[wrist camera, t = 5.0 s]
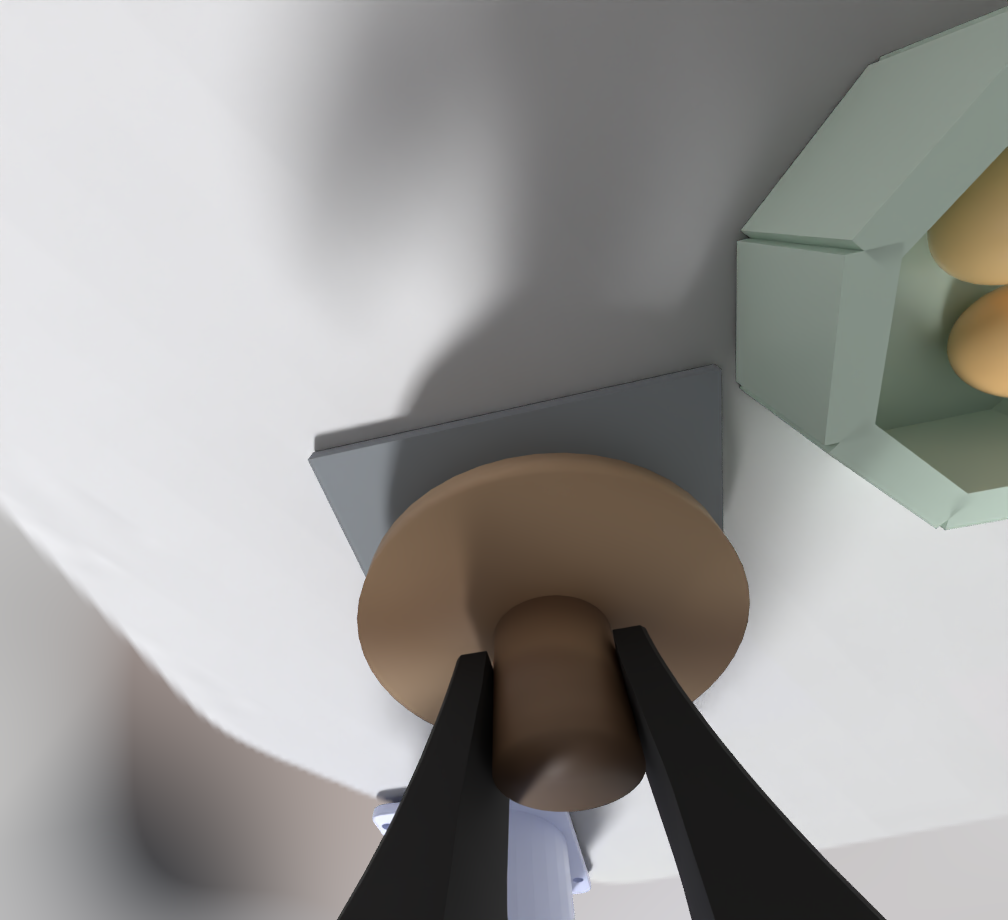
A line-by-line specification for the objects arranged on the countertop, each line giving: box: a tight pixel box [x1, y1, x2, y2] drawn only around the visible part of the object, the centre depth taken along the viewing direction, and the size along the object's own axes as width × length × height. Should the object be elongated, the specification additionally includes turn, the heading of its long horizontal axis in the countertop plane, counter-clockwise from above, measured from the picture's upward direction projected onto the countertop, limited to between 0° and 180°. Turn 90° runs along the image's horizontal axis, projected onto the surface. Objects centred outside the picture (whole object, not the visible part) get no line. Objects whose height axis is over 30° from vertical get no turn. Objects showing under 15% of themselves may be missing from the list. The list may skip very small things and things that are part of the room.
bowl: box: [736, 6, 1008, 530], centre depth 8 cm, size 8×8×3 cm
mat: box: [308, 364, 723, 576], centre depth 13 cm, size 10×10×1 cm
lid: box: [357, 453, 750, 812], centre depth 10 cm, size 9×9×4 cm
